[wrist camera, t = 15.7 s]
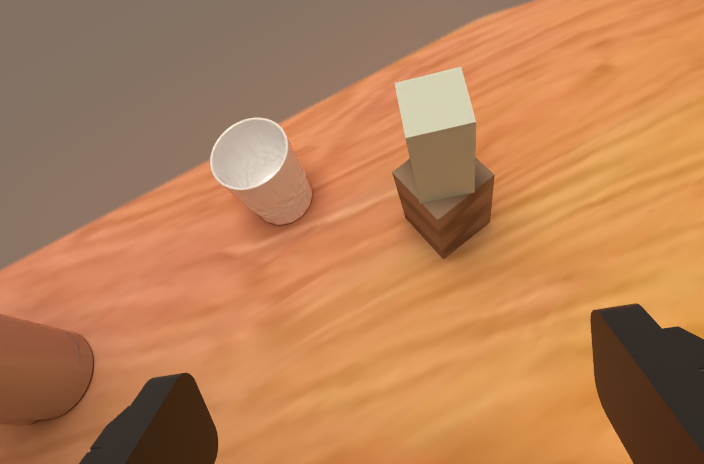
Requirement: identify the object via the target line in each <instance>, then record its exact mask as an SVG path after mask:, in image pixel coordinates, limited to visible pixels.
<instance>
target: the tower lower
mask: <svg viewBox="0 0 704 464" xmlns="http://www.w3.org/2000/svg"><path fill="white" fill-rule="evenodd" d="M400 200H401V198H400ZM401 204H402V207H403V210H404V214H405V217H406V219H407V220H408V221H409V222H410V223H411V224H412V225H413V226H414V228H415V229H416V230H417V231H418V232H419V233H420V234H421V235H422V236H423V237H424V238H425V240H426V241H427V242H428V243H429V244H430V245H431V246H432V247H433V248H434V249H435V250H436V252H437V253H438V254H439V255H440V256H441V257H442V258H443V259H444V258H446V257H447V256H448V255H449V254H451V253H452V252H453V251H454V250H456V249H457V248H458V247H459V246H461V245H462V244H463V243H464V242H466V241H467V240H468V239H469V238H471V237H472V236H473V235H474V234H476V233H477V232H478V231H479V230H481V229H482V228H483V227H484V226H486V225H487V224H488V223H489V222H490V214H491V204H492V201H491V202H490V203H489V204H488V205H486V206H485V207H484V208H483V209H481V210H480V211H479V212H478V213H476V214H475V215H474V216H473V217H471V218H470V219H469V220H468V221H466V222H465V223H464V224H463V225H461V226H460V227H459V228H458V229H456V230H455V231H454V232H453V233H451V234H450V235H449V236H448V237H446V238H445V239H444V240H443V241H440V240H439V239H438V238H437V237H436V236H435V235H434V234H433V233H432V232H431V231H430V229H429V228H428V227H427V226H426V225H425V224H424V223H423V222H422V221H421V220H420V219H419V218H418V217H417V216H416V215H415V213H414V212H413V211H412V210H411V209H410V208H409V207H408V206H407V205H406V204H405V203H404V202H403V201H402V200H401Z"/></svg>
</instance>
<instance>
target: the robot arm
mask: <svg viewBox="0 0 704 464" xmlns="http://www.w3.org/2000/svg"><path fill="white" fill-rule="evenodd" d="M591 334H592V348H593V362H594V376H595V383H596V388H597V392H598V396H599V399H600V402H601V404H602V407H603V409H604V411H605V413H606V415H607V417H608V419H609V420H610V422H611V424H612V426H613V428H614V429H615V431H616V433H617V435H618V436H619V438H620V440H621V442H622V444H623V445H624V447H625V449H626V451H627V452H628V454H629V456H630V458H631V460H632V461H633V463H634V464H704V339H702V338H700V337H698V336H696V335H694V334H692V333H690V332H688V331H686V330H684V329H682V328H680V327H671V328H664V329H662V328H661V327H660V326H659V325H658V324H657V323H656V322H655V321H654V319H653V318H652V317H651V316H650V315H649V314H648V313H647V312H646V311H645V310H644V308H643V307H641V306H640V305H639V304H630V305H623V306H617V307H610V308H604V309H598V310H593V311H592V313H591ZM92 369H93V357H92V352H91V349H90V347H89V345H88V343H87V342H86V340H85V339H83V338H82V337H81V336H80V335H78V334H76V333H73V332H69V331H65V330H61V329H57V328H53V327H49V326H45V325H42V324H38V323H34V322H30V321H26V320H22V319H18V318H14V317H10V316H6V315H2V314H0V424H16V425H30V424H32V423H33V422H35V421H36V420H38V419H52V418H56V417H58V416H60V415H62V414H64V413H66V412H67V411H69V410H70V409H71V408H73V407H74V405H75V404H76V403H77V402H78V401H79V400H80V399H81V397H82V396H83V394H84V393H85V391H86V389H87V387H88V385H89V382H90V379H91V375H92ZM90 449H91V451H90V452H88V453H87V454H86V455H85V456H84V458H83V459H82V460H81V462H80V463H79V464H214V463H215V460H216V457H217V452H218V436H217V431H216V428H215V425H214V423H213V420H212V418H211V416H210V414H209V411H208V409H207V407H206V404H205V402H204V400H203V398H202V395H201V393H200V391H199V388H198V386H197V384H196V382H195V380H194V378H193V377H192V376H191V375H190V374H189V373H181V374H175V375H168V376H162V377H156V378H152V379H150V380H149V381H148V382H147V383H146V384H145V385H144V387H143V388H142V390H141V391H140V393H139V394H138V396H137V397H136V398H135V400H134V401H133V403H132V404H131V406H128V407H127V408H126V409H125V410H124V411H123V412H122V413H120V414H119V415H118V416H117V417H116V418H115V419H114V420H113V421H112V422H110V423H109V424H108V425H107V426H106V427H105V429H104V430H103V431H102V433H101V434H100V436H99V437H98V438H97V440H96V441H95V442H94V444H93V445H92V447H91V448H90Z"/></svg>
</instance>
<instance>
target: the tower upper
mask: <svg viewBox="0 0 704 464" xmlns="http://www.w3.org/2000/svg"><path fill="white" fill-rule="evenodd" d="M392 173H393V177H394V180H395V183H396V187H397V190H398V194H399V197H400V198H401V200H402V201H403V202H404V203H405V204H406V205H407V206H408V207H409V208H410V209H411V210H412V211H413V212H414V213H415V215H416V216H417V217H418V218H419V219H420V220H421V221H422V222H423V223H424V224H425V225H426V226H427V227H428V228H429V229H430V231H431V232H432V233H433V234H434V235H435V236H436V237H437V238H438V239H439V240H440V241H443V240H444V239H445V238H446V237H448V236H449V235H450V234H451V233H453V232H454V231H455V230H456V229H458V228H459V227H460V226H461V225H463V224H464V223H465V222H466V221H468V220H469V219H470V218H471V217H473V216H474V215H475V214H476V213H478V212H479V211H480V210H481V209H483V208H484V207H485V206H486V205H488V204H489V203H490V202H491V201H492V195H493V185H494V174H493V173H492V172H491V171H490V170H489V169H487V168H486V167H485V166H484V165H483V164H482V163H481V162H480V161H479V160H478V159H477V158H475V192H474V193H469V194H464V195H460V196H455V197H450V198H445V199H440V200H435V201H431V202H426V203H421V204H420V202H419V197H418V193H417V188H416V184H415V179H414V174H413V170H412V165H411V161H410V159H409V160H407V161H406V162H405V163H404V164H402V165H401V166H400V167H398V168H397V169H396V170H395V171H393V172H392Z"/></svg>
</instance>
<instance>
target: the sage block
mask: <svg viewBox="0 0 704 464" xmlns="http://www.w3.org/2000/svg"><path fill="white" fill-rule="evenodd" d="M395 88H396V93H397V98H398V103H399V108H400V113H401V118H402V123H403V128H404V133H405V138H406V143H407V147H408V152H409V156H410V161H411V165H412V170H413V174H414V179H415V184H416V188H417V193H418V197H419V202H420V204H421V203H426V202H431V201H435V200H440V199H445V198H450V197H455V196H460V195H464V194H469V193H474V192H475V148H476V120H475V116H474V113H473V109H472V105H471V102H470V98H469V94H468V91H467V87H466V83H465V80H464V76H463V72H462V69H461V67H458V68H454V69H450V70H445V71H441V72H437V73H433V74H429V75H425V76H421V77H417V78H413V79H409V80H405V81H401V82H397V83H395Z"/></svg>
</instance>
